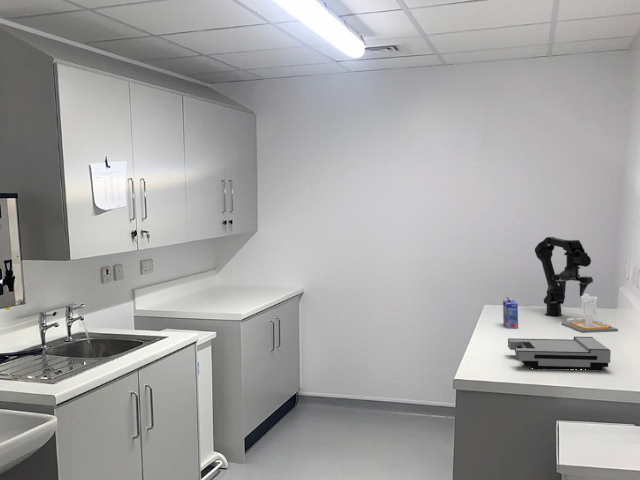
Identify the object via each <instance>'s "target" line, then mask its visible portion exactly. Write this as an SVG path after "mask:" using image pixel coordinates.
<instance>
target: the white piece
mask: <svg viewBox="0 0 640 480" xmlns="http://www.w3.org/2000/svg"><path fill="white" fill-rule="evenodd" d="M580 300H581V311H580V315H582V316H585V317H584V318H585V326H592V321H593V317H594V316H597V315H598V311H597V301H598V297H597V296H594V295H590V294H588V293H583V295H582V296H581V297H580Z"/></svg>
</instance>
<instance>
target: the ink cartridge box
mask: <svg viewBox="0 0 640 480" xmlns="http://www.w3.org/2000/svg"><path fill="white" fill-rule="evenodd" d="M502 311H503V313H502V317H503V321H502V322H503V325H504V326H505V328H507V329H519V304H518V302H516V301H515V300H513V299H510V298H509V297H507V296H506V300H505V299H504V300H502Z"/></svg>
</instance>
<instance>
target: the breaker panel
mask: <svg viewBox="0 0 640 480" xmlns="http://www.w3.org/2000/svg"><path fill="white" fill-rule="evenodd" d="M561 325H562V326H564V327H566V328H569V329H572V330H574V331H577V332H580V333H584V334H585V333H604V332H606V333H607V332H619V328H616V327H613V326H612V325H608V324H607V323H602V322H601V321H596V320H594V321H593V320H592V326H585V317H578V318H577V317H576V318H566V322H565V321H564V322H561Z"/></svg>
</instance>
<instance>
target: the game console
mask: <svg viewBox="0 0 640 480" xmlns="http://www.w3.org/2000/svg"><path fill="white" fill-rule="evenodd" d="M507 347H508V348H509V350H511V351H514V354H515V355H514V356H515V358H516V360H517V361H521V363H522V364H523V365H524V366H528V367H529V366H530V367H531V368H533V369H532V370H538V369H569V370H568V371H571V370H570V369H574V370H573V371H576V370H575V369H577V370H580V369H582V370H585V369H586V370H603V371H604V369H603V368H609V363H610V364H611V349H610V348H609V347H606V345H604V344H602V343H601V342H600V341H599V340H597V339H596V338H595V337H593V336H573V339H565V338H564V339H561V338H559V339H557V338H556V339H555V338H553V339H552V338H551V339H550V338H507ZM530 367H529V368H530ZM531 368H530V369H531Z"/></svg>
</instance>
